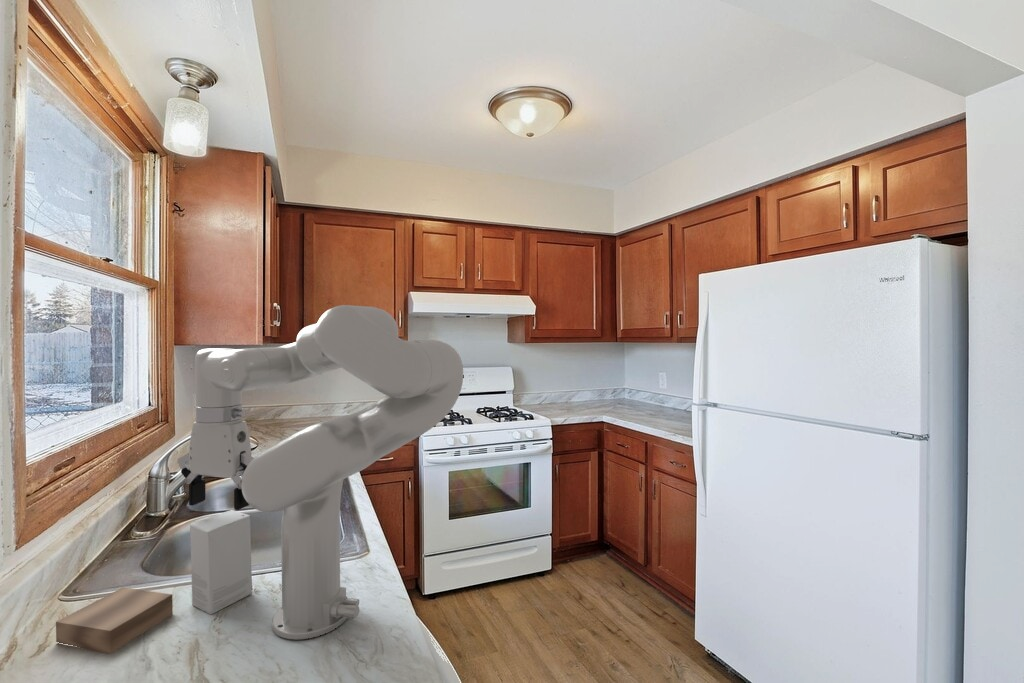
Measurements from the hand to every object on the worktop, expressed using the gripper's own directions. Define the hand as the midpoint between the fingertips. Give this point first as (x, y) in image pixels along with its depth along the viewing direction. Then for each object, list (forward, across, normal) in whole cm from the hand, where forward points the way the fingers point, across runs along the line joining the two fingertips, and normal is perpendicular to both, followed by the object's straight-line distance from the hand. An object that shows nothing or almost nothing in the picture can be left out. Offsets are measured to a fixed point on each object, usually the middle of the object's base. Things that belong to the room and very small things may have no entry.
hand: (219, 505), depth 92 cm
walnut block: (+19, +10, +11) cm, 24 cm away
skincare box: (+18, -1, 0) cm, 18 cm away
